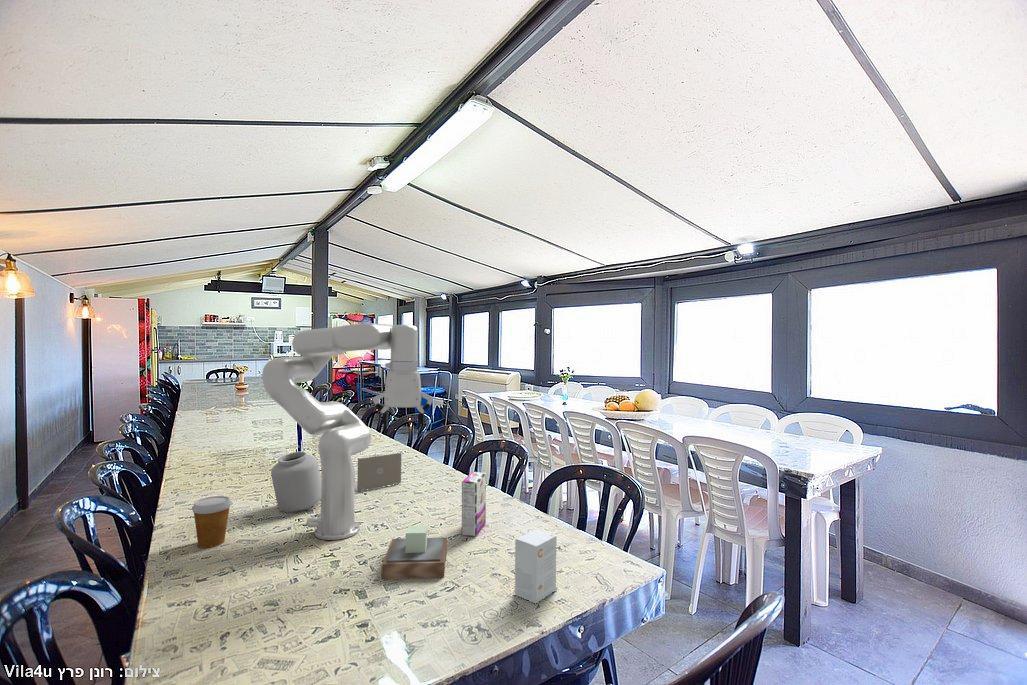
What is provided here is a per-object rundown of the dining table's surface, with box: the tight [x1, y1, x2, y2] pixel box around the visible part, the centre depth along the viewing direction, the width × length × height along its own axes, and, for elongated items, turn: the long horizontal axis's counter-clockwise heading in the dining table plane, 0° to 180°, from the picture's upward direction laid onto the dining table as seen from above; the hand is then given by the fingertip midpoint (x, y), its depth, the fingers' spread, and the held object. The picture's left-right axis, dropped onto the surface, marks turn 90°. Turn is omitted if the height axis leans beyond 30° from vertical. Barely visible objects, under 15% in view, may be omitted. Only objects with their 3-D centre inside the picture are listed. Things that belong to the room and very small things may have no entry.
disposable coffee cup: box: [191, 495, 233, 549], centre depth 132 cm, size 10×10×12 cm
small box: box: [514, 528, 557, 605], centre depth 109 cm, size 8×6×13 cm
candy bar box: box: [461, 471, 487, 538], centre depth 145 cm, size 11×5×16 cm, turn 168°
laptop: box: [355, 452, 402, 492], centre depth 190 cm, size 18×12×13 cm
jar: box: [270, 436, 321, 519], centre depth 160 cm, size 19×15×25 cm
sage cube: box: [405, 524, 428, 553], centre depth 122 cm, size 5×5×5 cm
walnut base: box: [381, 536, 448, 580], centre depth 122 cm, size 15×15×4 cm
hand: (402, 426), depth 135 cm, fingers open, 9 cm apart
